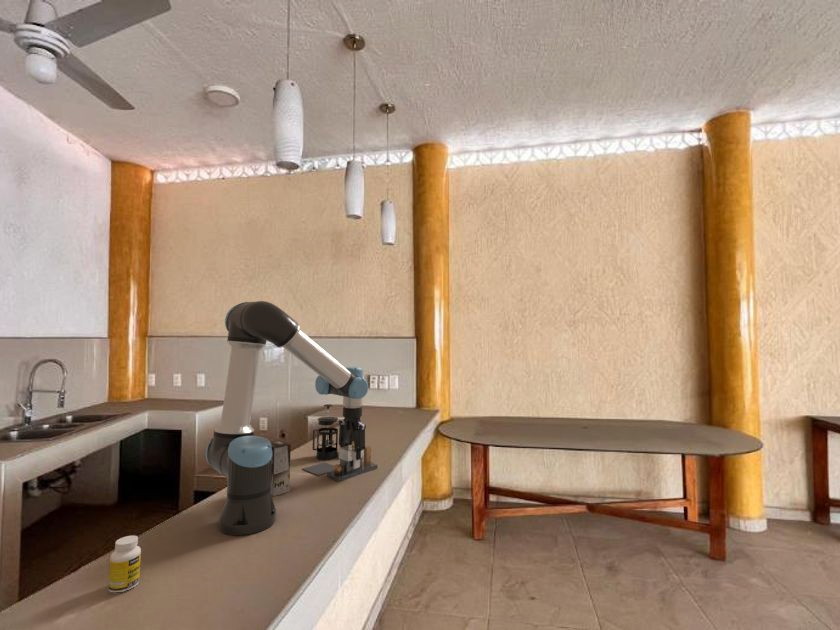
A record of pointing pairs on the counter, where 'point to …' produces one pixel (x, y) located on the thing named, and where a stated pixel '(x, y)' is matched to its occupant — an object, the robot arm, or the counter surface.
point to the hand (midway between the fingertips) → (351, 465)
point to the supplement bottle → (124, 564)
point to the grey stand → (346, 467)
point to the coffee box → (280, 467)
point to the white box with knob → (348, 452)
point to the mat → (320, 469)
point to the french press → (324, 451)
